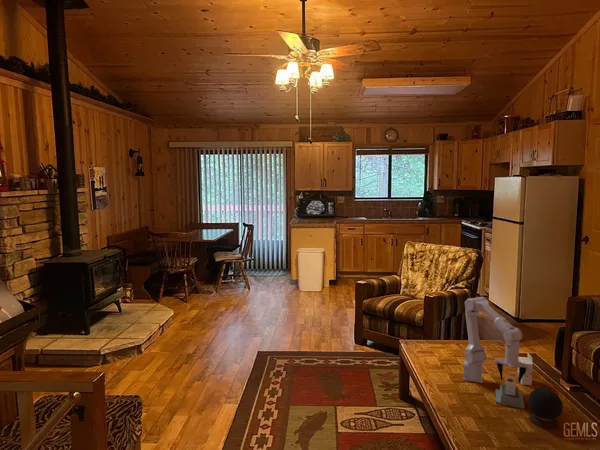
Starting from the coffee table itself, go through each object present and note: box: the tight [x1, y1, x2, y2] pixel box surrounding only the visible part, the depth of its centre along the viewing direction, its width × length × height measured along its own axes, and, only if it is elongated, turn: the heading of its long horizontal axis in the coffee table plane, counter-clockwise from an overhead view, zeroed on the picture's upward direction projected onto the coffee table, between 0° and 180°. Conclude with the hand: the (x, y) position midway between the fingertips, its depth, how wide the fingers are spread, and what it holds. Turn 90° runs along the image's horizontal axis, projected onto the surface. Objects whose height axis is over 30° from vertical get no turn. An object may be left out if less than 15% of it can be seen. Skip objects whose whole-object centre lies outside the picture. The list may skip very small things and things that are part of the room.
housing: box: [504, 375, 517, 396], centre depth 205 cm, size 9×4×6 cm, turn 156°
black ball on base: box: [527, 387, 564, 431], centre depth 186 cm, size 13×13×15 cm
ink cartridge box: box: [517, 352, 534, 386], centre depth 222 cm, size 9×5×15 cm, turn 168°
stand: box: [494, 384, 525, 409], centre depth 205 cm, size 12×13×4 cm
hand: (510, 380), depth 204 cm, fingers open, 7 cm apart
